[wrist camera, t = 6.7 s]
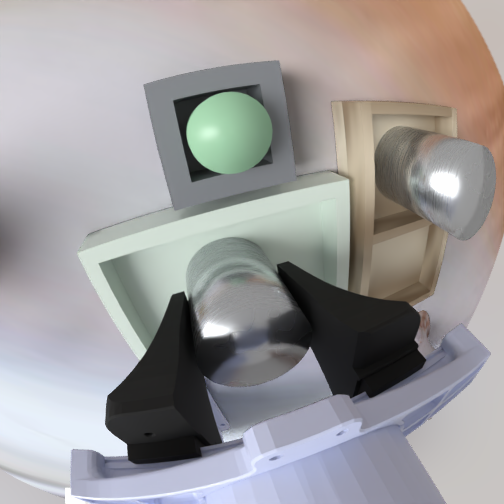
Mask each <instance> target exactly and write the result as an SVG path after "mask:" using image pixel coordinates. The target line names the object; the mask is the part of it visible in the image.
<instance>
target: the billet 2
mask: <svg viewBox="0 0 504 504" xmlns="http://www.w3.org/2000/svg"><path fill="white" fill-rule="evenodd" d="M374 162H375V183H376V186H377V188H378V190H379V191H380V193H381V194H382V195H383V196H384V197H386V198H387V199H389V200H391V201H393V202H395V203H397V204H399V205H401V206H402V207H404V208H406V209H408V210H410V211H412V212H414V213H415V214H417V215H419V216H421V217H422V218H424V219H426V220H428V221H429V222H431V223H433V224H435V225H436V226H438V227H440V228H441V229H443V230H445V231H446V232H448V233H449V234H451V235H453V236H454V237H456V238H457V239H459V240H463V241H464V240H468V239H470V238H471V237H472V236H474V235H475V234H476V233H477V232H478V230H479V229H480V228H481V226H482V225H483V223H484V221H485V220H486V217H487V215H488V213H489V211H490V208H491V205H492V201H493V197H494V192H495V184H496V170H495V163H494V159H493V156H492V154H491V152H490V151H489V149H488V148H486V147H485V146H482V145H479V144H476V143H473V142H470V141H466V140H463V139H459V138H455V137H452V136H448V135H444V134H440V133H436V132H431V131H427V130H422V129H417V128H412V127H407V126H396V127H393V128H391V129H390V130H388V131H387V132H386V133H385V134H384V135H383V136H382V138H381V139H380V141H379V143H378V145H377V147H376V150H375V154H374Z"/></svg>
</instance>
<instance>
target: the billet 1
mask: <svg viewBox="0 0 504 504" xmlns="http://www.w3.org/2000/svg"><path fill="white" fill-rule="evenodd" d="M186 286H187V295H188V304H189V312H190V320H191V327H192V334H193V341H194V348H195V355H196V361H197V365H198V368H199V370H200V371H201V373H202V374H203V375H204V376H205V377H207V378H208V379H209V380H211V381H213V382H215V383H218V384H220V385H224V386H231V387H247V386H254V385H259V384H262V383H265V382H268V381H271V380H273V379H275V378H278V377H279V376H281V375H283V374H285V373H286V372H288V371H289V370H290V369H292V368H293V367H294V366H295V365H296V364H298V363H299V361H300V360H301V359H302V358H303V357H304V355H305V354H306V352H307V351H308V349H309V347H310V344H311V340H312V328H311V325H310V323H309V321H308V320H307V318H306V317H305V315H304V313H303V312H302V310H301V309H300V307H299V306H298V304H297V302H296V301H295V299H294V298H293V296H292V295H291V293H290V291H289V290H288V288H287V287H286V285H285V284H284V282H283V280H282V279H281V277H280V276H279V274H278V273H277V271H276V270H275V268H274V266H273V265H272V263H271V262H270V260H269V259H268V257H267V256H266V254H265V252H264V251H263V250H262V249H261V248H260V247H259V246H258V245H257V244H255V243H254V242H252V241H249V240H247V239H243V238H238V237H227V238H221V239H218V240H215V241H212V242H210V243H208V244H206V245H205V246H203V247H202V248H201V249H200V250H198V251H197V252H196V254H195V255H194V256H193V257H192V259H191V260H190V262H189V264H188V267H187V271H186Z"/></svg>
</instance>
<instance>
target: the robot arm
mask: <svg viewBox="0 0 504 504" xmlns="http://www.w3.org/2000/svg"><path fill="white" fill-rule="evenodd" d="M277 270H278V274H279V276H280V277H281V279H282V280H283V282H284V284H285V285H286V287H287V288H288V290H289V291H290V293H291V295H292V296H293V298H294V299H295V301H296V302H297V304H298V306H299V307H300V309H301V310H302V312H303V313H304V315H305V317H306V318H307V320H308V321H309V323H310V325H311V328H312V340H311V344H310V347H311V349H312V350H313V352H314V354H315V356H316V359H317V361H318V363H319V365H320V367H321V369H322V371H323V373H324V375H325V378H326V380H327V382H328V384H329V387H330V389H331V391H332V394H333V396H331V397H328V398H325V399H322V400H320V401H318V402H315V403H313V404H310V405H308V406H305V407H302V408H300V409H297V410H294V411H291V412H289V413H286V414H283V415H280V416H277V417H274V418H271V419H267V420H265V421H262V422H260V423H257V424H255V425H253V426H251V427H250V428H249V429H247V430H246V431H245V432H244V434H243V438H241V439H237V440H233V441H229V442H225V443H224V441H223V437H222V433H221V431H224V430H228V429H229V428H230V425H229V423H228V422H227V420H226V419H225V417H224V415H223V414H222V412H221V411H220V409H219V407H218V406H217V404H216V403H215V401H214V399H213V398H212V396H211V394H210V393H209V391H208V389H207V388H206V384H205V378H204V375H203V374H202V373H201V371H200V370H199V368H198V365H197V361H196V355H195V348H194V341H193V334H192V327H191V320H190V312H189V304H188V300H187V297H186V295H185V292H184V291H183V292H179V293H176V294H172V296H171V298H170V301H169V304H168V306H167V309H166V312H165V314H164V317H163V319H162V322H161V324H160V326H159V328H158V331H157V333H156V335H155V337H154V339H153V341H152V343H151V344H150V346H149V348H148V349H147V351H146V353H145V354H144V356H143V357H142V359H141V360H140V361H139V363H138V364H137V365H136V367H135V368H134V369H133V371H132V372H131V373H130V374H129V375H128V376H127V377H126V379H125V380H124V381H123V382H122V383H121V384H120V385H119V386H118V387H117V388H116V389H115V390H113V391H112V392H111V393H110V394H109V395H108V397H107V403H106V419H105V425H106V427H107V429H108V430H109V431H110V432H111V433H112V434H114V435H115V436H116V437H118V438H119V439H121V440H122V441H123V442H125V443H126V444H127V450H128V456H119V457H104V456H103V455H101V454H100V453H98V452H96V451H93V450H78V449H73V450H71V496H72V497H74V498H77V499H79V500H82V501H85V502H88V503H91V504H446V502H445V501H444V499H443V497H442V496H441V494H440V492H439V490H438V489H437V487H436V486H435V484H434V483H433V481H432V479H431V478H430V476H429V475H428V473H427V471H426V470H425V468H424V466H423V465H422V463H421V461H420V460H419V458H418V457H417V455H416V453H415V452H414V450H413V449H412V447H411V446H410V444H409V443H408V441H407V439H406V438H405V437H406V436H407V435H408V434H410V433H411V432H413V431H414V430H415V429H417V428H418V427H419V426H421V425H422V424H423V423H425V422H426V421H427V420H428V419H430V418H431V417H432V416H433V415H434V414H436V413H437V412H438V411H439V410H441V409H442V408H443V407H444V406H445V405H446V404H448V403H449V402H450V401H451V400H452V399H453V398H455V397H456V396H457V395H458V394H459V393H460V392H461V391H463V390H464V389H465V388H466V387H467V386H468V385H469V384H470V383H471V382H472V381H473V379H474V378H475V377H476V375H477V374H478V372H479V371H480V370H481V368H482V367H483V365H484V364H485V362H486V361H487V359H488V358H489V356H490V355H491V353H490V352H489V350H487V348H486V347H485V346H484V345H483V344H482V343H481V342H480V341H479V340H478V339H477V338H476V337H475V336H474V335H473V334H472V333H471V332H470V331H469V330H468V329H467V328H466V327H465V326H464V325H463V324H462V323H461V324H459V325H458V326H456V327H455V328H454V329H452V330H451V331H450V332H448V333H447V334H446V336H445V337H444V338H443V340H442V343H441V346H440V347H438V348H437V349H435V350H434V351H433V352H431V353H430V354H428V355H427V356H425V357H424V356H423V355H422V354H421V353H420V352H419V350H418V347H419V345H418V344H417V342H416V341H415V337H416V335H417V332H418V329H419V326H420V322H421V317H420V314H419V313H418V312H417V311H416V310H415V309H414V308H413V307H412V306H411V305H410V304H409V303H408V302H406V301H394V300H384V299H378V298H373V297H368V296H364V295H360V294H356V293H353V292H350V291H347V290H344V289H341V288H339V287H336V286H334V285H332V284H329V283H327V282H325V281H323V280H321V279H319V278H317V277H315V276H313V275H311V274H310V273H308V272H306V271H304V270H303V269H301V268H299V267H298V266H296V265H294V264H293V263H291V262H289V261H287V262H284V263H280V264H277Z"/></svg>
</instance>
